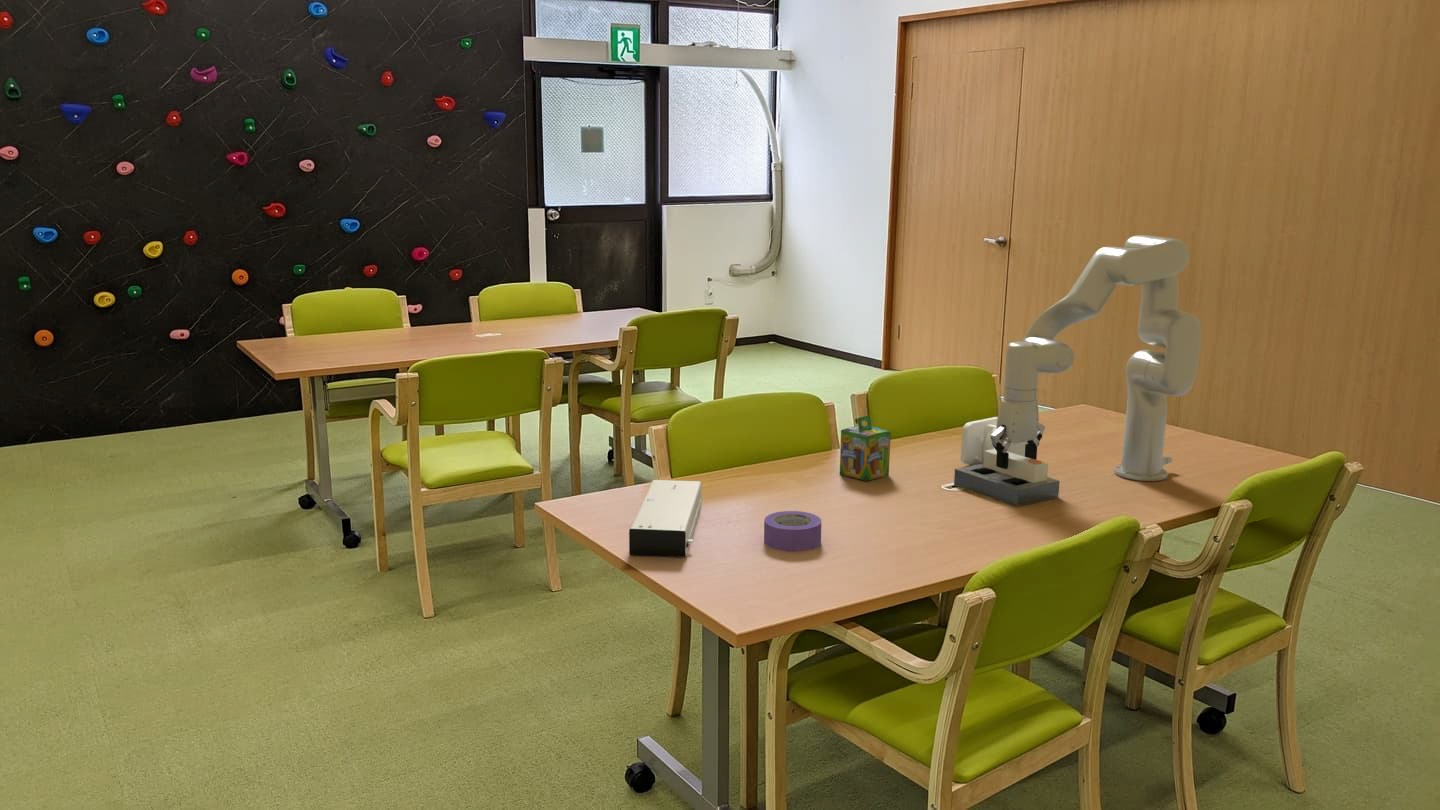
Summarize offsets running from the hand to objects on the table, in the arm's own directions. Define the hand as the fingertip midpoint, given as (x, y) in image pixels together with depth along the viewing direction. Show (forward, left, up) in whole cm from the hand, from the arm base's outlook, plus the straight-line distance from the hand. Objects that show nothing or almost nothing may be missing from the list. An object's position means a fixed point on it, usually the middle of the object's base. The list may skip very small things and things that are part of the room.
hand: (1016, 464), depth 273 cm
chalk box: (+23, -28, -6) cm, 37 cm away
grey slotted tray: (+3, 0, -6) cm, 7 cm away
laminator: (+86, -18, -7) cm, 88 cm away
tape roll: (+68, +2, -7) cm, 68 cm away
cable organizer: (-11, -17, -6) cm, 21 cm away
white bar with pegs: (0, 0, -6) cm, 6 cm away
